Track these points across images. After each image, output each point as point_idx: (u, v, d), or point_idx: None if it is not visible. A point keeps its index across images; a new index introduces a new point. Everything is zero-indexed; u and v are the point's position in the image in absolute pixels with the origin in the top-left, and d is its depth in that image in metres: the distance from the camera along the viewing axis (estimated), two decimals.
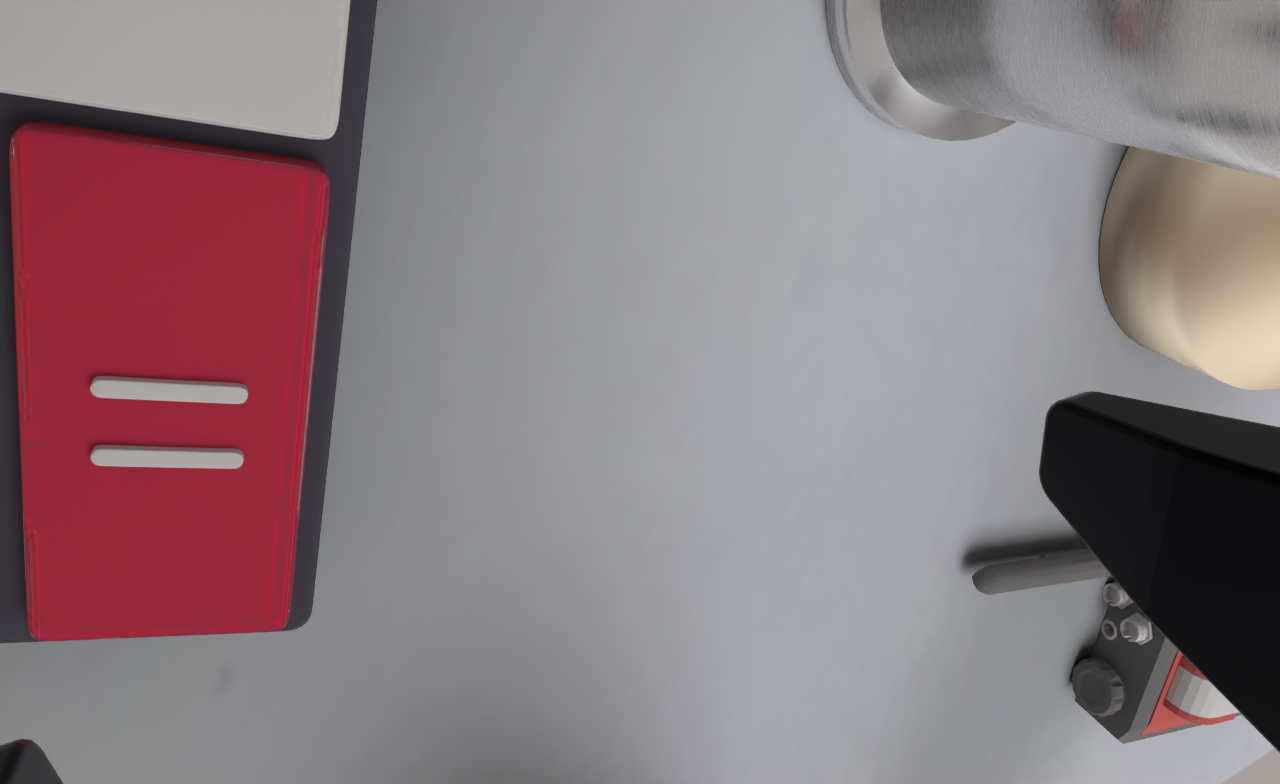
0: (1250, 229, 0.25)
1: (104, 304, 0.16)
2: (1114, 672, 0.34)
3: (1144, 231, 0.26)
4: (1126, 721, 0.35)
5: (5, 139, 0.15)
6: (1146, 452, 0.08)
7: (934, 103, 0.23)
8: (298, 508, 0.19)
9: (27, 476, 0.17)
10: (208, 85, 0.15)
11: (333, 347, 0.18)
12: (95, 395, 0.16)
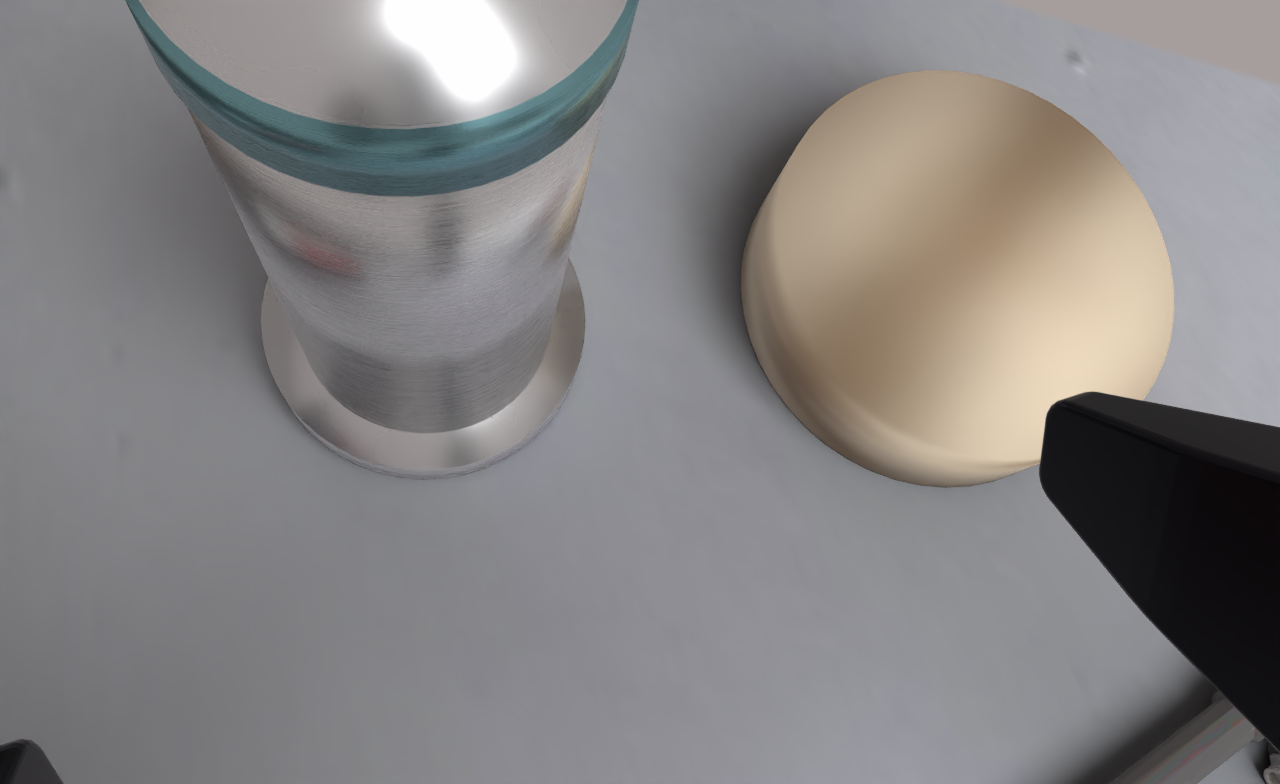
0: (888, 309, 0.21)
1: None
2: None
3: (806, 386, 0.22)
4: None
5: None
6: (1146, 452, 0.08)
7: (458, 431, 0.21)
8: None
9: None
10: None
11: None
12: None
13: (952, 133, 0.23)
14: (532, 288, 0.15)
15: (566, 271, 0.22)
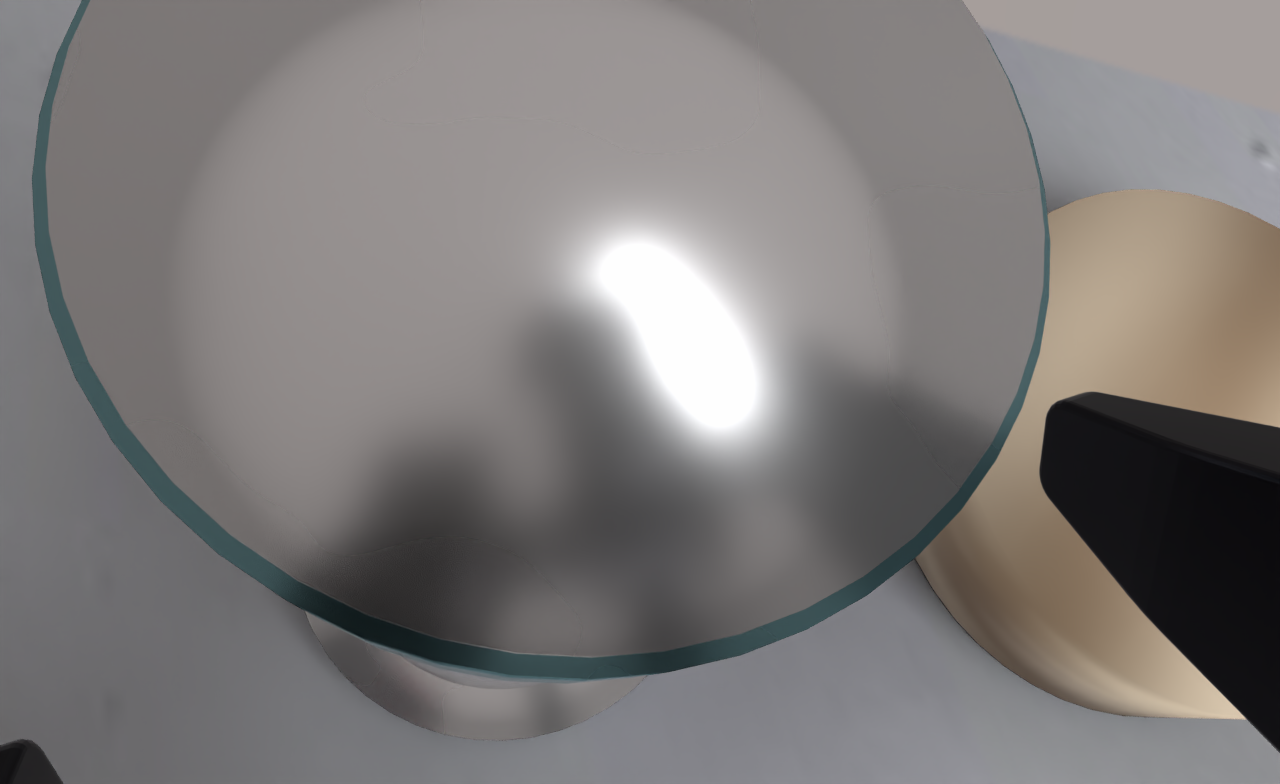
0: None
1: None
2: None
3: (990, 607, 0.17)
4: None
5: None
6: (1146, 452, 0.08)
7: (550, 683, 0.16)
8: None
9: None
10: None
11: None
12: None
13: (1163, 272, 0.18)
14: None
15: None
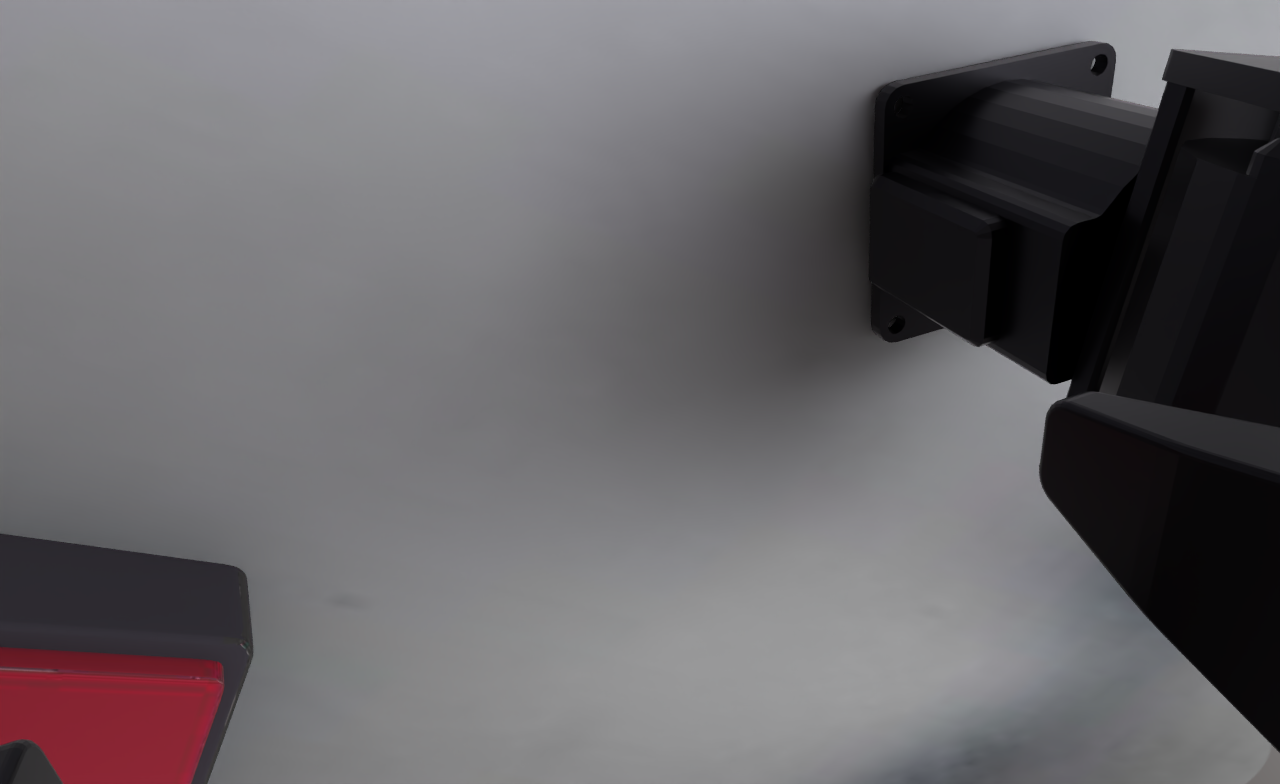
0: None
1: None
2: None
3: None
4: None
5: None
6: (1146, 452, 0.08)
7: None
8: (50, 670, 0.17)
9: None
10: None
11: None
12: None
13: None
14: None
15: None
